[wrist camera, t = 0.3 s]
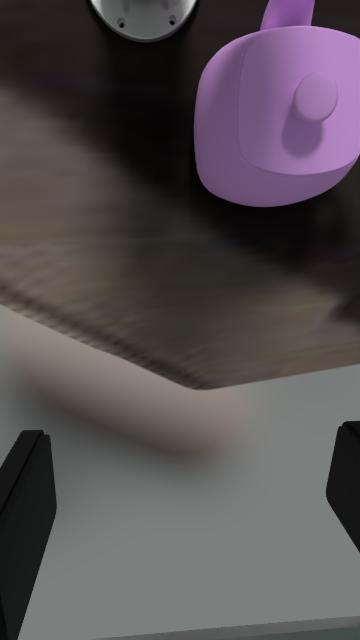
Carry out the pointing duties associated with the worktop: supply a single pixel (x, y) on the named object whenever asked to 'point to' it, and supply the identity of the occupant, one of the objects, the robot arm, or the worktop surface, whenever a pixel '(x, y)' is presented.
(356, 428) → the robot arm
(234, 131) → the teapot
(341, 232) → the worktop surface
